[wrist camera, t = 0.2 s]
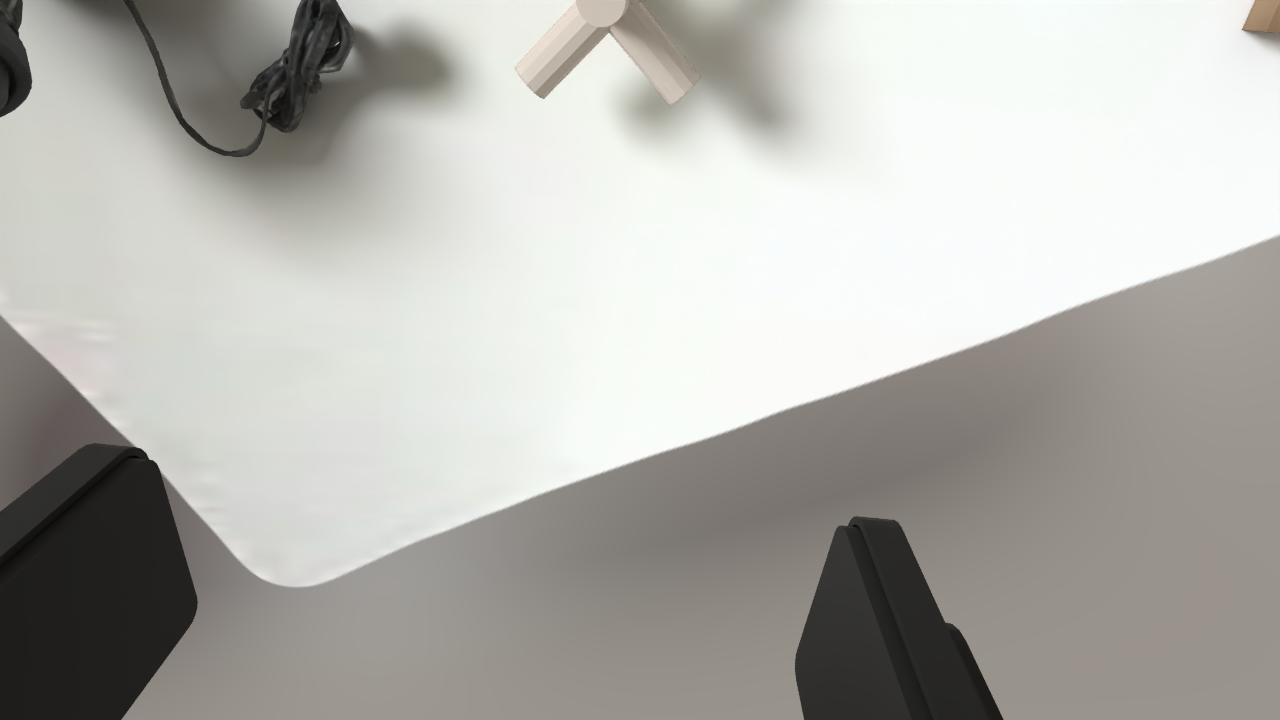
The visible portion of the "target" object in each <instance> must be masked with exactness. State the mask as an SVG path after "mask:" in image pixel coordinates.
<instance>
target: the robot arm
mask: <svg viewBox="0 0 1280 720" xmlns="http://www.w3.org/2000/svg"><path fill="white" fill-rule="evenodd" d="M197 603H198V601H197V596H196V592H195V589H194V586H193V582H192V578H191V575H190V572H189V568H188V565H187V561H186V558H185V555H184V551H183V548H182V544H181V541H180V538H179V534H178V531H177V527H176V524H175V521H174V517H173V514H172V510H171V507H170V504H169V500H168V497H167V493H166V490H165V487H164V483H163V480H162V476H161V473H160V470H159V467H158V465H157V463H155V462H154V461H153V460H149V458H148V456H147V454H146V453H145V452H144V451H143V450H142V449H140V448H136V447H126V446H116V445H106V444H96V443H95V444H89V445H86V446H84V447H82V448H81V449H79V450H78V451H76V452H75V453H74V454H73V455H71V456H70V457H69V458H67V459H66V460H65V461H64V462H63V463H61V464H60V465H59V466H57V467H56V468H55V469H54V470H52V471H51V472H50V473H49V474H48V475H46V476H45V477H44V478H42V479H41V480H40V481H39V482H37V483H36V484H35V485H33V486H32V487H31V488H30V489H29V490H27V491H26V492H25V493H23V494H22V495H21V496H20V497H18V498H17V499H16V500H15V501H13V502H12V503H11V504H9V505H8V506H7V507H6V508H4V509H3V510H2V511H1V512H0V720H121V719H122V718H123V717H124V715H125V714H126V712H127V711H128V710H129V708H130V707H131V706H132V704H133V703H134V702H135V700H136V699H137V697H138V696H139V695H140V693H141V692H142V691H143V689H144V688H145V687H146V685H147V684H148V682H149V681H150V680H151V678H152V677H153V676H154V674H155V673H156V672H157V670H158V669H159V668H160V666H161V665H162V663H163V662H164V661H165V659H166V658H167V657H168V655H169V654H170V653H171V651H172V650H173V648H174V647H175V646H176V644H177V643H178V642H179V640H180V639H181V638H182V636H183V635H184V634H185V632H186V631H187V629H188V628H189V627H190V625H191V623H192V622H193V619H194V617H195V614H196V610H197ZM795 673H796V681H797V686H798V691H799V696H800V701H801V706H802V711H803V716H804V720H1003V718H1002V716H1001V714H1000V711H999V709H998V707H997V705H996V703H995V701H994V699H993V697H992V695H991V692H990V690H989V688H988V686H987V684H986V682H985V680H984V678H983V676H982V674H981V672H980V669H979V667H978V665H977V663H976V661H975V659H974V657H973V655H972V653H971V650H970V648H969V646H968V644H967V642H966V640H965V639H964V637H963V636H962V634H961V632H960V631H959V630H958V629H957V628H956V627H955V626H954V625H953V624H950V623H945V621H944V619H943V617H942V615H941V613H940V610H939V608H938V606H937V604H936V602H935V600H934V598H933V596H932V593H931V591H930V589H929V586H928V584H927V582H926V580H925V578H924V575H923V573H922V571H921V569H920V567H919V565H918V563H917V560H916V558H915V556H914V554H913V551H912V549H911V547H910V545H909V543H908V541H907V538H906V536H905V534H904V532H903V530H902V528H901V526H900V525H899V523H898V522H897V521H895V520H888V519H878V518H867V517H853V518H852V519H851V520H850V522H849V525H848V526H839V527H838V528H837V529H836V531H835V534H834V537H833V540H832V543H831V546H830V549H829V552H828V556H827V559H826V562H825V565H824V568H823V571H822V574H821V577H820V581H819V584H818V587H817V590H816V593H815V596H814V599H813V602H812V605H811V609H810V612H809V615H808V618H807V621H806V624H805V627H804V630H803V634H802V637H801V640H800V643H799V646H798V649H797V653H796V659H795Z"/></svg>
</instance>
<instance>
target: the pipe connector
mask: <svg viewBox="0 0 1280 720" xmlns="http://www.w3.org/2000/svg"><path fill="white" fill-rule="evenodd" d="M608 33H610V34H611V35H612V36H613V37H614V39H615V40H616V41H617V42H618V43H619V45H620V46H621V47H622V48H623V49H624V51H625V52H626V53H627V54H628V55H629V57H630V58H631V59H632V60H633V61H634V63H635V64H636V65H637V66H638V67H639V69H640V70H641V71H642V72H643V73H644V75H645V76H646V77H647V78H648V79H649V81H650V82H651V83H652V84H653V86H654V87H655V88H656V89H657V90H658V92H659V93H660V94H661V95H662V96H663V98H664V99H665V100H666V101H667V102H668V104H669V105H671V104H673V103H674V102H676V101H677V100H678V99H680V98H681V97H682V96H683V95H684V94H685V93H686V92H687V91H688V90H689V89H690V88H691V87H692V86H693V85H694V84H695V83H696V82H697V81H698V79H699V78H700V75H699V74H698V73H697V72H696V70H695V69H694V68H693V67H692V65H691V64H690V63H689V62H688V60H687V59H686V58H685V57H684V55H683V54H682V53H681V52H680V50H679V49H678V48H677V47H676V45H675V44H674V43H673V42H672V40H671V39H670V38H669V36H668V35H667V34H666V33H665V31H664V30H663V29H662V28H661V26H660V25H659V24H658V23H657V21H656V20H655V19H654V18H653V16H652V15H651V14H650V13H649V11H648V10H647V9H646V8H645V6H644V5H643V4H642V3H641V1H640V0H576V2H575V3H574V4H573V5H572V6H571V7H570V8H569V9H568V10H567V11H566V12H565V14H564V15H563V16H562V17H561V18H560V19H559V20H558V21H557V22H556V23H555V24H554V25H553V26H552V27H551V28H550V30H549V31H548V32H547V33H546V34H545V35H544V36H543V37H542V38H541V39H540V40H539V41H538V42H537V43H536V45H535V46H534V47H533V48H532V49H531V50H530V51H529V52H528V53H527V54H526V55H525V56H524V57H523V58H522V59H521V61H520V62H519V63H518V64H517V65H516V66H515V71H516V72H517V74H518V75H519V77H520V78H521V79H522V81H523V82H524V83H525V84H526V85H527V86H528V87H529V88H530V89H531V90H532V91H533V92H534V93H535V94H536V95H537V96H539V97H540V98H543V99H544V98H545V97H546V96H547V95H548V94H549V93H550V92H551V91H552V90H553V89H554V88H555V87H556V86H557V85H558V84H559V83H560V82H561V81H562V80H563V79H564V78H565V77H566V76H567V75H568V74H569V73H570V72H571V71H572V70H573V69H574V68H575V67H576V66H577V64H578V63H579V62H580V61H581V60H582V59H583V58H584V57H585V56H586V55H587V54H588V53H589V52H590V51H591V50H592V49H593V48H594V47H595V46H596V45H597V44H598V43H599V42H600V41H601V40H602V39H603V38H604V37H605V36H606V35H607V34H608Z"/></svg>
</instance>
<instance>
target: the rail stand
mask: <svg viewBox="0 0 1280 720" xmlns="http://www.w3.org/2000/svg"><path fill="white" fill-rule="evenodd" d="M1242 30H1251V31H1262V32H1273V33H1280V0H1255V2H1254V5H1253V7H1252V9H1251V11H1250V13H1249V16H1248V18H1247V20H1246V22H1245V24H1244V27H1243V29H1242Z"/></svg>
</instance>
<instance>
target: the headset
mask: <svg viewBox="0 0 1280 720" xmlns="http://www.w3.org/2000/svg"><path fill="white" fill-rule="evenodd" d="M124 2H125V3H126V5H127V6H128V8H129V10H130V11H131V13H132V15H133V17H134V18H135V20H136V23H137V24H138V26H139V28H140V30H141V32H142V33H143V35H144V37H145V40H146V42H147V44H148V47H149V49H150V51H151V53H152V56H153V58H154V60H155V63H156V66H157V69H158V73H159V77H160V80H161V83H162V86H163V89H164V92H165V94H166V97H167V99H168V102H169V104H170V106H171V108H172V110H173V112H174V114H175V116H176V118H177V119H178V121H179V123H180V124H181V126H182V127H183V128H184V129H185V130H186V132H187V133H188V134H189V135H190V136H191V137H192V138H193V139H195V140H196V141H197V142H198V143H200V144H201V145H203V146H204V147H206V148H208V149H209V150H211V151H214V152H216V153H218V154H221V155H224V156H233V157H243V156H248V155H250V154H252V153H253V152H254V151H255V150H256V149H257V148H258V146H259V145H260V143H261V141H262V138H263V135H264V131H265V126H266V122H267V123H269V124H270V125H271V126H273V127H275V128H277V129H279V130H280V131H282V132H286V133H288V132H292V131H293V130H295V129H296V128H297V126H298V124H299V122H300V119H301V117H302V114H303V112H304V108H305V104H306V100H307V96H308V94H309V93H312V94H316V93H317V89H321V87H322V84H321V82H320V80H319V77H320V75H319V74H321V73H330V72H335V71H339V70H340V69H341V68H342V66H343V64H344V62H345V60H346V58H347V57H348V55H349V52H350V50H351V48H352V45H353V42H354V38H355V34H354V32H353V29H352V27H351V25H350V24H349V22H348V20H347V19H346V17H345V15H344V14H343V12H342V10H341V8H340V6H339V5H338V3H337V1H336V0H301V2H300V4H299V6H298V8H297V12H296V15H295V19H294V24H293V28H292V32H291V40H290V45H289V48H287V49H286V50H284V52H283V55H282V57H281V58H280V59H279V60H277V61H276V62H275V63H274V64H272V65H271V66H270V67H268V68H267V69H266V70H264V71H263V72H262V73H260V74H259V75H258V76H257V78H256V79H255V81H254V82H253V84H252V85H251V88H250V92H249V93H247V94H246V96H245V97H244V98H243V99H242V100H241V102H240V104H241V108H243V109H253V110H254V112H255V113H256V114H257V116H258V117H259V118H260V119H262V127H261V131H260V133H259V135H258V136H257V138H256V139H255V141H254V142H253V143H252V144H251V145H250V146H248V147H247V148H246V149H241V150H238V151H232V152H230V151H224V150H222V149H219V148H217V147H214V146H212V145H210V144H208V143H207V142H206V141H205V140H204V139H203V138H202V137H201V136H200V135H199V134H198V133H197V132H196V131H195V130H194V129H193V128H192V127H191V126H190V125H189V124H188V123H187V122H186V121H185V120H184V118H183V117H182V114H181V112H180V109H179V106H178V104H177V101H176V99H175V96H174V94H173V91H172V89H171V86H170V84H169V82H168V79H167V75H166V72H165V69H164V66H163V63H162V61H161V59H160V55H159V52H158V51H157V48H156V46H155V43H154V41H153V39H152V37H151V35H150V33H149V31H148V30H147V28H146V26H145V24H144V22H143V20H142V18H141V16H140V14H139V12H138V10H137V8H136V6H135V4H134V2H133V1H132V0H124ZM22 7H23V2H22V0H0V117H2V116H5V115H6V114H8V113H10V112H12V111H13V110H15V109H16V108H17V107H19V106H20V105H21V104H22V103H23V102H24V101H25V100H26V98H27V97H28V95H29V92H30V90H31V88H32V85H31V84H32V77H31V72H30V67H29V62H28V58H27V53H26V49H25V47H24V46H23V43H22V41H21V40H20V39H19V32H18V29H19V27H20V25H21V21H22ZM338 42H339V44H337V45H336V43H338ZM335 45H336V46H335ZM334 46H335V47H334Z"/></svg>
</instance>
